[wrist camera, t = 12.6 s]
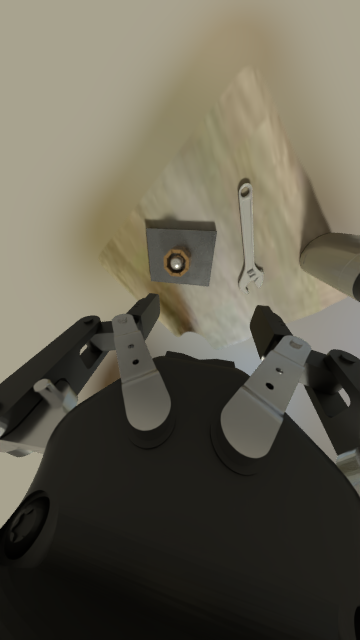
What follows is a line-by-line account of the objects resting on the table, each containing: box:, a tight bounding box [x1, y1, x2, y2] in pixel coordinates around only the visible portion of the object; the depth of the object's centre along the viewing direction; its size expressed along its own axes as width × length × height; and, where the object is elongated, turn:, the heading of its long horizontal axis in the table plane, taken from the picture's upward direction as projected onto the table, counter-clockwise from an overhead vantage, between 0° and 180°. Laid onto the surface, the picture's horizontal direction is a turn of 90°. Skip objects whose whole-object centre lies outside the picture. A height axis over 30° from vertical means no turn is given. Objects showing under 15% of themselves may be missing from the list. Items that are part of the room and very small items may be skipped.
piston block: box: [146, 228, 217, 286], centre depth 38 cm, size 18×14×8 cm
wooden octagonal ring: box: [164, 246, 192, 277], centre depth 38 cm, size 6×6×5 cm
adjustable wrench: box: [238, 183, 264, 294], centre depth 37 cm, size 25×6×2 cm, turn 13°
